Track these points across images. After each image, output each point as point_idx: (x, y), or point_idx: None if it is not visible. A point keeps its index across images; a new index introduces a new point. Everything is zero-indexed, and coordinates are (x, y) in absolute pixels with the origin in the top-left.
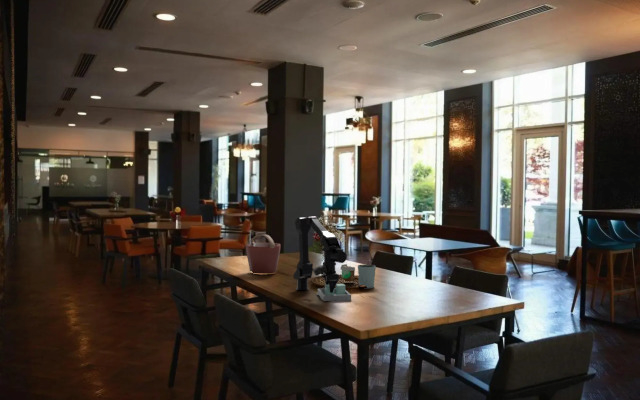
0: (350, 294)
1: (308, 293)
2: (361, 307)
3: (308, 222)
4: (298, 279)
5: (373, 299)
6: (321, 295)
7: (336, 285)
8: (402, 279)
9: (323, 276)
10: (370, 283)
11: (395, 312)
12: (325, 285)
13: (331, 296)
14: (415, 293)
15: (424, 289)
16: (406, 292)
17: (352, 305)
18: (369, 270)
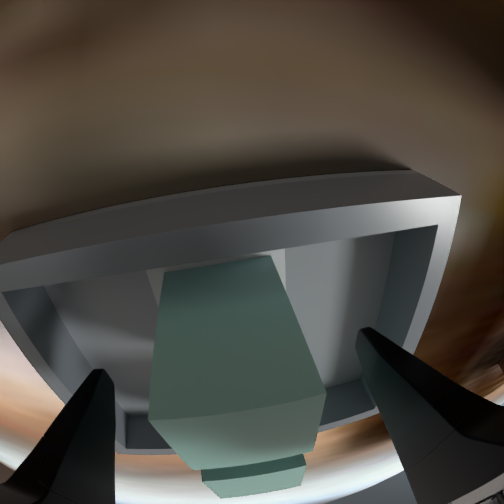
0: (130, 453)
1: (467, 85)
2: (5, 413)
3: None
4: None
5: (184, 467)
6: (102, 229)
7: (270, 463)
8: None
9: (502, 458)
10: None
11: (12, 452)
12: (251, 400)
13: (27, 346)
14: (282, 496)
15: (325, 492)
16: (301, 488)
17: (16, 397)
18: None
